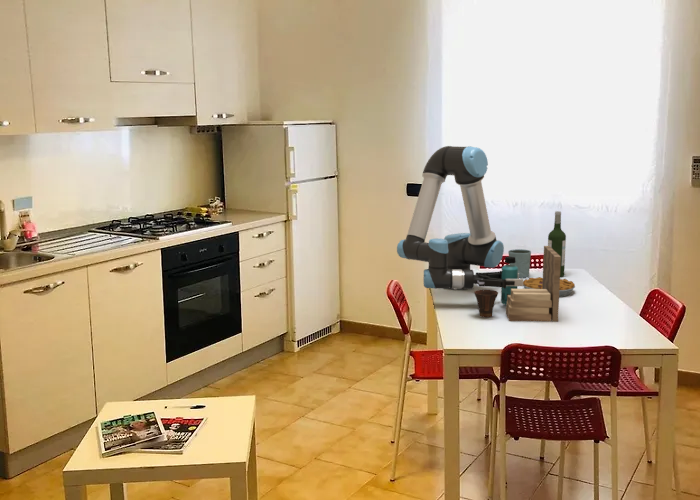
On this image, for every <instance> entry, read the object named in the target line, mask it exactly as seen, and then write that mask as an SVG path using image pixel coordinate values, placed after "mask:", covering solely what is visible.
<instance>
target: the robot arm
mask: <svg viewBox="0 0 700 500" xmlns="http://www.w3.org/2000/svg"><path fill="white" fill-rule="evenodd" d="M488 161H489V160H488V157H487V154H486V153H485V151H484V150H483V149H481V148H480V147H475V146H470V145H469V146H454V145H453V146H451V145H447V146H443V147H440V148H439V149H437V150H436V151H435V152H433V153H432V154H431V156H430V157H429V159H428V161H427V162H426V164H425V166H424V168H423V170H422V171H423V172H422V178H423V179H422V183H421V187H420V190H419V194H418V197H417V200H416V204H415V208H414V210H413V213H412V218H411V221H410V224H409V227H408V231H407V234H406V238H405V239H401V240H399V242H398V243H397V246H396V253H397V255H398V257H400V258H402V259H405V260H411V261H412V260H413V261H419V262H424V263H428V267H427V269H424V270H423V279H422V281H423V287H424V288H426V289H434V290H436V289H438V290H441V289H446V290H447V289H448V290H455V291H457V290H472V289H474V287H475V285H478V287H489V288H491V287H492V288H501V287H502V288H506V286H517V287H524V286H523V281H524V278H520V279H519V273H518V279H506V280H505V279H502V270H499V271H492V272H491V271H489V272H488V271H487V272H485V271H484V272H475V273H474V270H473V269H471V265H472V266H478V267H484V268H493V269H494V268H496V267H498V265H499V264H500V263H501V261H502V259H503V255H504V253H505V252H504V251H505V248H504V247H505V246H504V243H503V242H502V241H501V240H497V236H496V233H495V232H494V231H492V230H491V229H492V228H491V224H490V220H489V215H488V208H487V204H486V198H485V194H484V189H483V184H482V180H483V179H484V178H485V175H486V173H487V171H488V165H489V163H488ZM448 176H453V177H454V181H455V183H456V185H458V186H459V187H460V191H461V196H462V200H463V205H464V211H465V215H466V220H467V225H468V229H469V232H460V233H459V232H458V233H451V234H447V235H445V237H444V238H431V239H429V241H428V242H426V238H427V234H428V232H429V231H428V230H429V227H430V224H431V221H432V218H433V214H434V210H435V207H436V204H437V201H438V197H439V193H440V190H441V186H442V184H444V183H445V182H446V178H447V177H448Z"/></svg>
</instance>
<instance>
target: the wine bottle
mask: <svg viewBox="0 0 700 500" xmlns="http://www.w3.org/2000/svg"><path fill="white" fill-rule="evenodd" d="M553 224H554V225H553V229H552V230H550V232H549V233H548V235H547V237H548V238H547V246H550V247H551V248H552V249H553V250H554V251H555V252H556V253H557V254H558V255H559V256H561V266H560V278H563V277H565V263H566V247H567V246H566V245H567V244H566V242H567V241H566V240H567V235H566V232H564V230H562V212H561V211H559V210H558V211H557V210H555V211H554V223H553Z"/></svg>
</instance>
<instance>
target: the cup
mask: <svg viewBox="0 0 700 500" xmlns="http://www.w3.org/2000/svg"><path fill="white" fill-rule="evenodd" d="M473 294H474V297H475V298H476V302H477V306H478V309H477V310H478V315H479V317H480V318H492V317H493V311H494V306H495V303H496V299H497V298H498V295H499V292H498V290H494V289H486V288H485V289H483V288H482V289H478V290H474V291H473Z"/></svg>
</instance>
